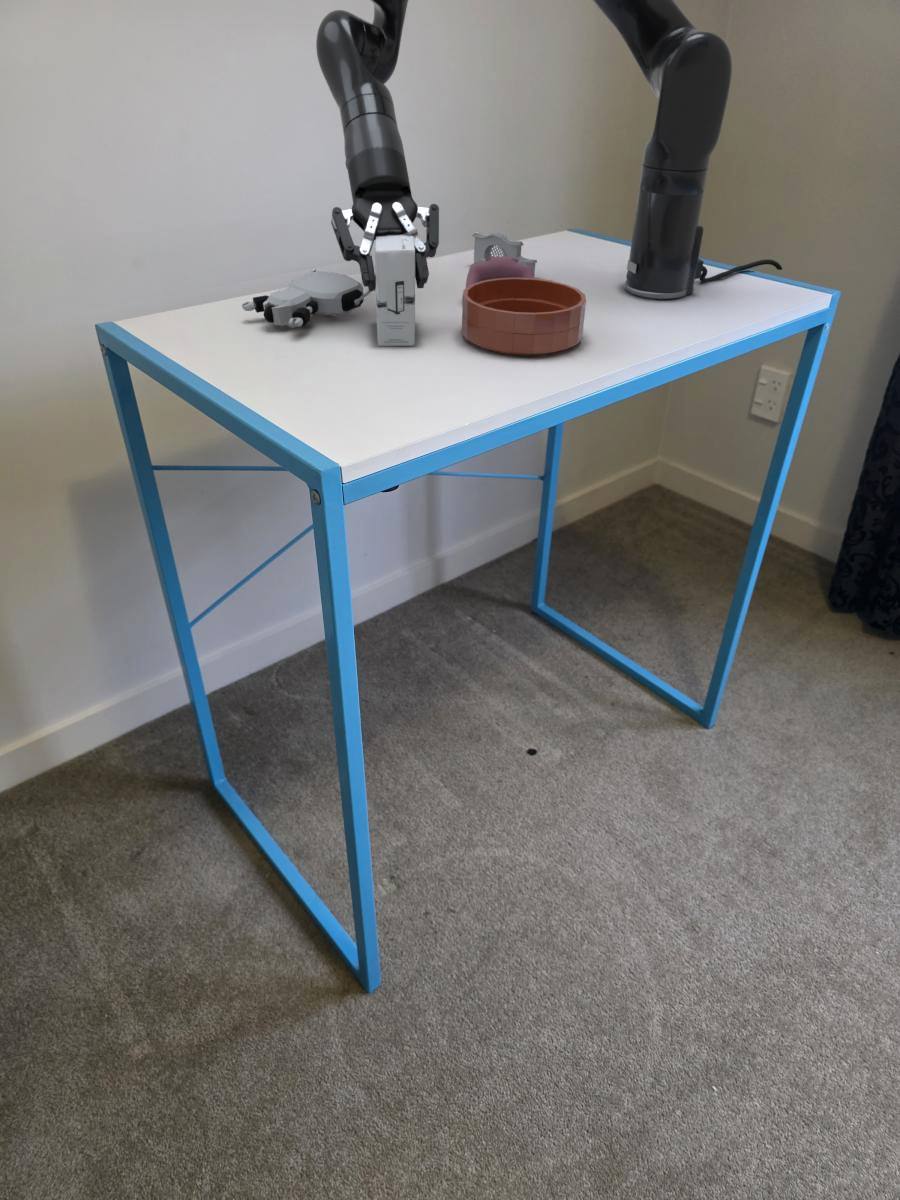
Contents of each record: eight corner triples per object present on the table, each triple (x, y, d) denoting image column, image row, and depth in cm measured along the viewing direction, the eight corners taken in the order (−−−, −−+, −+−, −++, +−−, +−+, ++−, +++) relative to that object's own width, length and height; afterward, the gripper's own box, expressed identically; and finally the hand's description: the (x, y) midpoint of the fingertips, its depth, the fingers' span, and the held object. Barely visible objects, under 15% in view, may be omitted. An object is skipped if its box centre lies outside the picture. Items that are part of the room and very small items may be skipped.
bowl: (556, 315, 121) (559, 274, 117) (599, 353, 108) (605, 309, 105) (448, 322, 117) (449, 280, 114) (481, 362, 105) (483, 317, 102)
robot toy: (300, 348, 110) (381, 313, 119) (295, 313, 107) (378, 280, 116) (239, 326, 116) (320, 295, 125) (233, 293, 113) (316, 263, 122)
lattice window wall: (536, 279, 135) (539, 239, 132) (529, 281, 134) (532, 241, 131) (477, 264, 141) (479, 226, 138) (470, 266, 140) (471, 228, 137)
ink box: (376, 324, 116) (373, 232, 109) (413, 324, 116) (413, 232, 109) (377, 346, 109) (374, 249, 102) (416, 346, 109) (415, 249, 102)
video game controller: (532, 310, 127) (536, 261, 126) (532, 305, 122) (536, 253, 121) (465, 307, 128) (468, 258, 126) (463, 301, 123) (466, 250, 122)
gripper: (321, 145, 105) (342, 273, 102) (436, 143, 108) (458, 267, 105) (318, 184, 112) (338, 305, 110) (426, 181, 115) (447, 298, 113)
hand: (397, 286), depth 108 cm, fingers closed on ink box, 5 cm apart
